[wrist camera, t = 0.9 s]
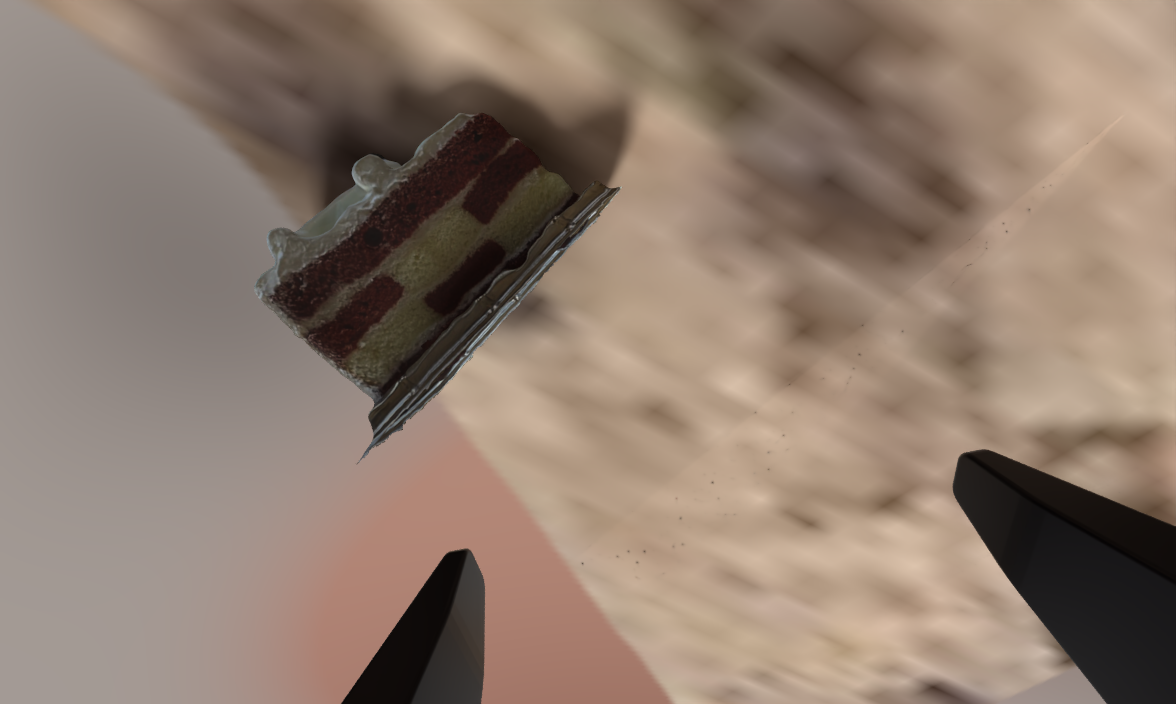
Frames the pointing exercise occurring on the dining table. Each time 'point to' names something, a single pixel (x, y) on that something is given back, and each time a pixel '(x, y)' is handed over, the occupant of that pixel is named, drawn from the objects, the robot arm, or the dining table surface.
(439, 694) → the robot arm
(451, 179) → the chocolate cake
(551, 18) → the dining table surface
